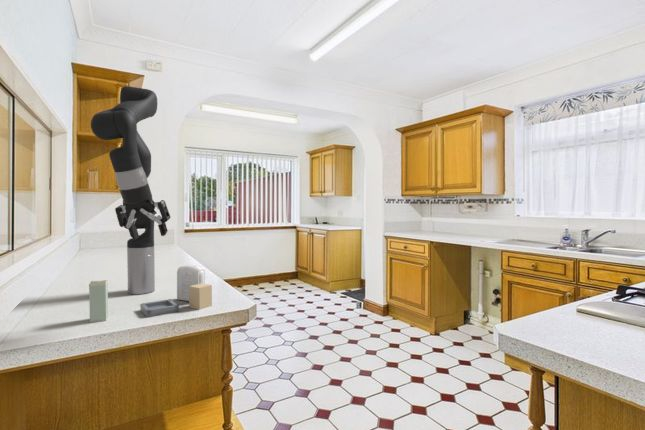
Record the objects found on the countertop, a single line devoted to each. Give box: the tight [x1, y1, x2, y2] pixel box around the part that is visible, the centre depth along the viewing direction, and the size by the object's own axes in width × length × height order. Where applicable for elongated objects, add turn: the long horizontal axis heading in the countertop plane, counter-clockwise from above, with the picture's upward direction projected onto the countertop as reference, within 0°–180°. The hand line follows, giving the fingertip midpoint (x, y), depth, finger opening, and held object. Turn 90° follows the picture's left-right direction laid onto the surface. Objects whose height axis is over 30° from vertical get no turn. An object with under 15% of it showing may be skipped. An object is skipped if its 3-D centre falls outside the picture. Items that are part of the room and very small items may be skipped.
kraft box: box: [188, 283, 213, 311], centre depth 118 cm, size 5×5×7 cm
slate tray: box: [140, 298, 180, 318], centre depth 113 cm, size 9×9×2 cm
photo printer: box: [176, 264, 206, 302], centre depth 125 cm, size 10×4×12 cm, turn 69°
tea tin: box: [88, 279, 109, 323], centre depth 105 cm, size 4×4×11 cm
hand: (150, 236), depth 107 cm, fingers open, 8 cm apart
